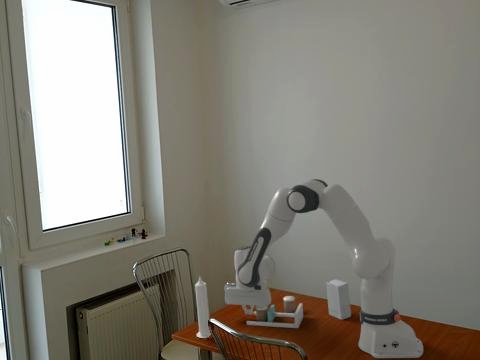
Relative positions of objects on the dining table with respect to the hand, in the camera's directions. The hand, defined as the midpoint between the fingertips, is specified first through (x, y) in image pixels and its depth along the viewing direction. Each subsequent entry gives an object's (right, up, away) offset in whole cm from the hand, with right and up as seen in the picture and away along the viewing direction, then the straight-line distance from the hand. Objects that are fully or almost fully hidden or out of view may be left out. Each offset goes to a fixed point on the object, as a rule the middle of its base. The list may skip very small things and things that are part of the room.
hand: (248, 314), depth 207 cm
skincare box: (+39, 0, -3) cm, 39 cm away
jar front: (+6, -2, -2) cm, 7 cm away
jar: (+18, 0, +6) cm, 19 cm away
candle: (-18, -6, -12) cm, 23 cm away
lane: (+11, -2, -3) cm, 12 cm away
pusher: (+12, -2, -4) cm, 12 cm away
